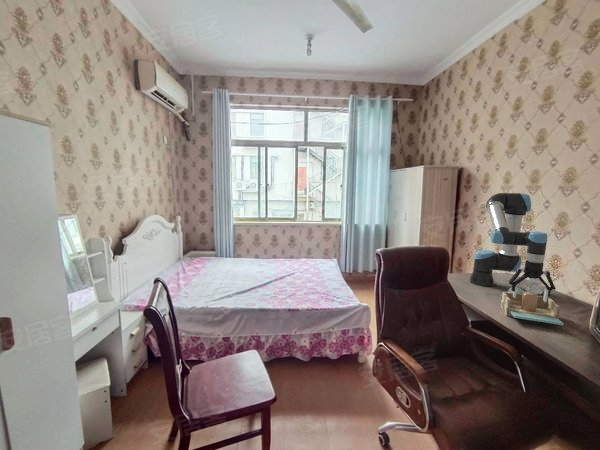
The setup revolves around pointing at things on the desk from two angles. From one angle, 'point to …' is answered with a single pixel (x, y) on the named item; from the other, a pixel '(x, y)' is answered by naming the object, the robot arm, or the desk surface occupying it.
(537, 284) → the figurine
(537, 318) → the cabinet door
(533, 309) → the brown egg
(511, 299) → the crate
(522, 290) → the spool
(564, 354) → the desk surface
